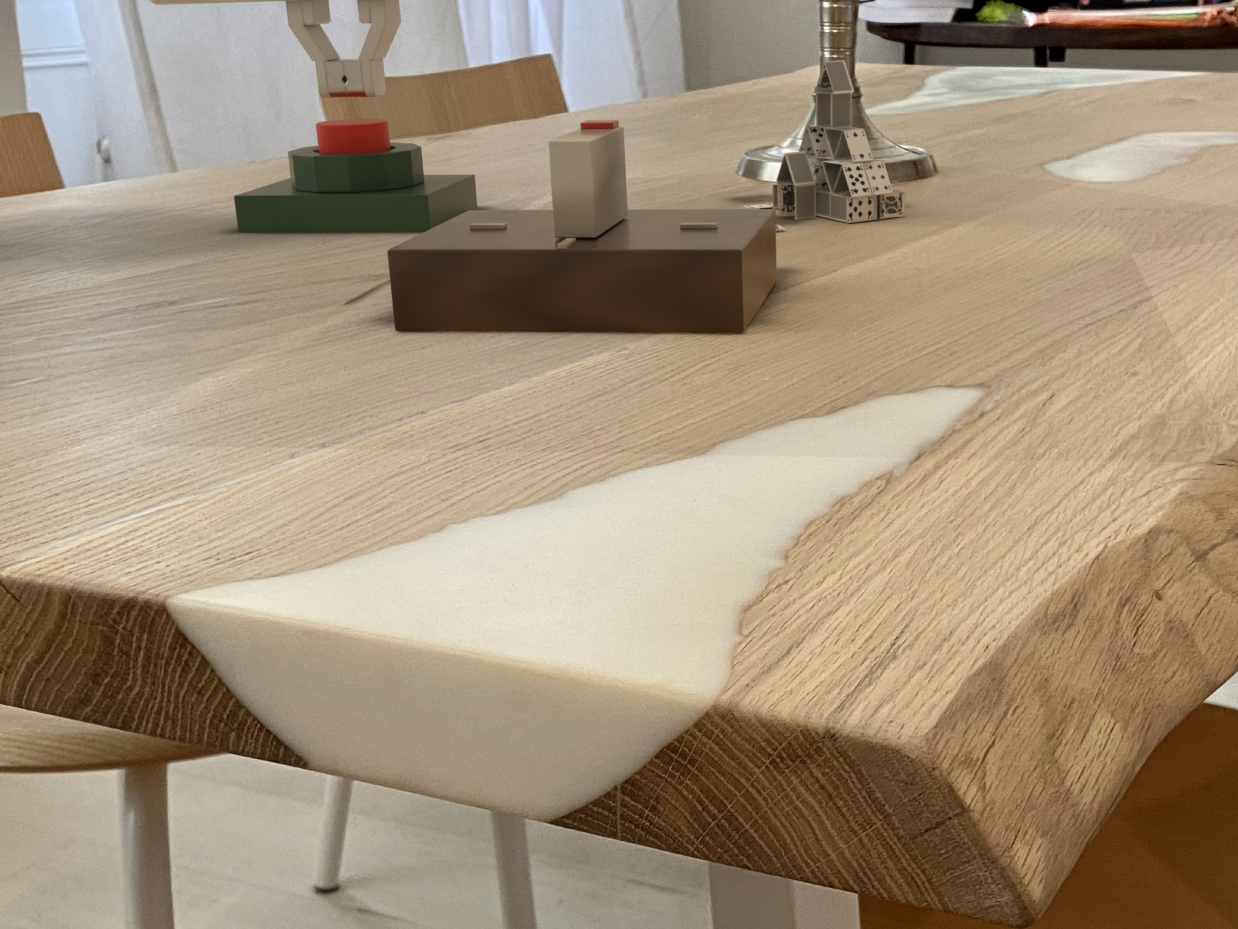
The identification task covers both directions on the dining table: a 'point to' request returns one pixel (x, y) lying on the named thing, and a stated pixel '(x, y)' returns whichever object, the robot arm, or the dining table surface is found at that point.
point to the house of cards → (834, 164)
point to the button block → (356, 194)
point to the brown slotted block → (586, 273)
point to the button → (353, 136)
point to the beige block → (588, 179)
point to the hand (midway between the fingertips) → (353, 96)
